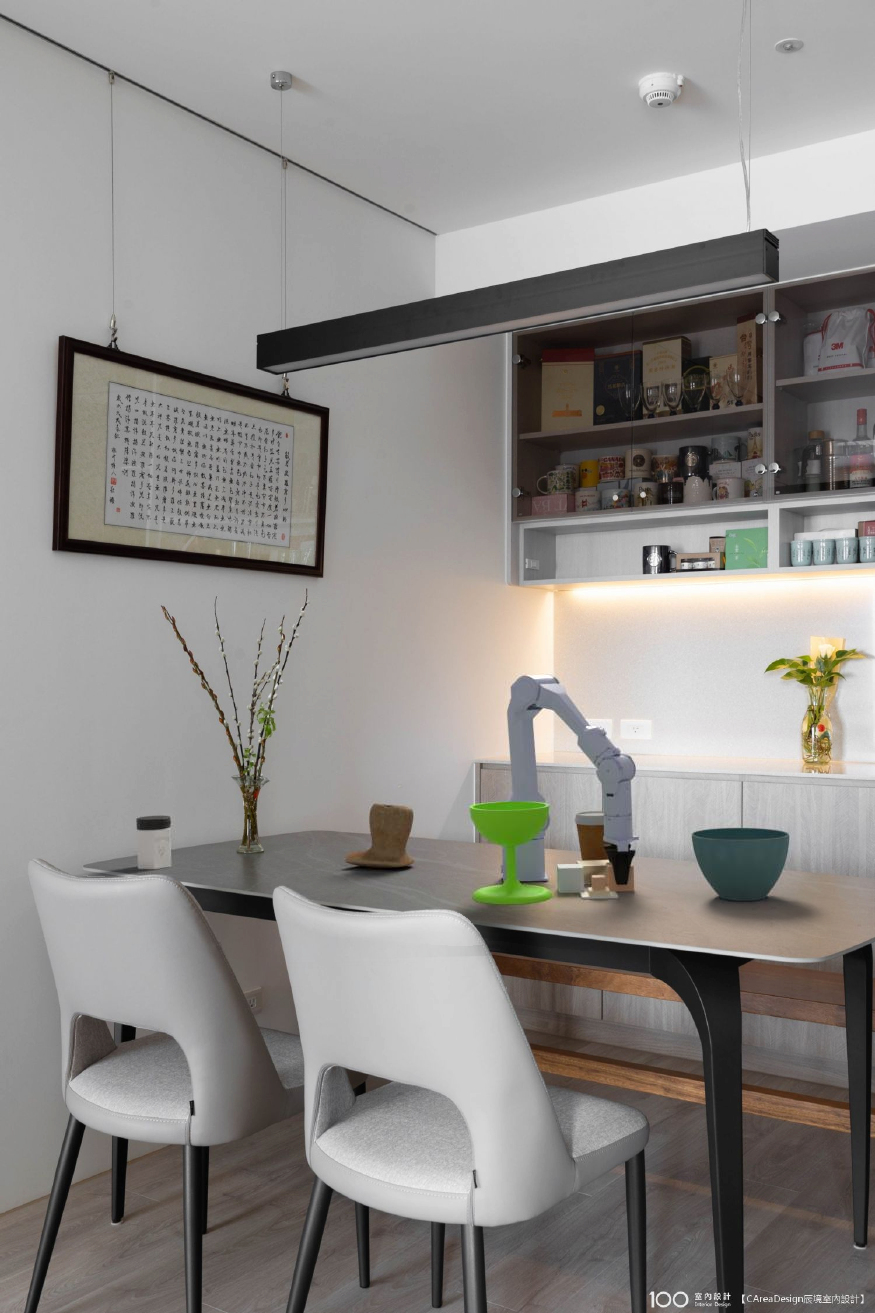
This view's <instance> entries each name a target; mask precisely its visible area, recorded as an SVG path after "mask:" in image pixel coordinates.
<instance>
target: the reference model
mask: <svg viewBox="0 0 875 1313" xmlns="http://www.w3.org/2000/svg"><path fill="white" fill-rule="evenodd" d="M591 879H592V884H591V887H589V886H588V887H587V891H584V892H580V893H579V894H580V897H581V899H582V900H595V899H596V900H599V899H606V900H607V899H619V895H618V894H617V893H618V892H617V891H616V892H615V891H610V890H609V888H608V887H607V884H606V880H605V876H604V875H591Z"/></svg>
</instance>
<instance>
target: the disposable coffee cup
mask: <svg viewBox="0 0 875 1313" xmlns="http://www.w3.org/2000/svg"><path fill="white" fill-rule="evenodd" d="M573 819H574V824H576V832H577V837H578V843H579V851H580V855H581V856H580V857H581V861H590V860H609V859H608V856H607V853H606V851H605V849H604V847H603V845H610V844H611V843H609V842H605V841H604V840H603V837H604V810H600V811H599V810H597V811H596V810H592V811H591V810H590V811H579V812H576V813H575V818H573Z"/></svg>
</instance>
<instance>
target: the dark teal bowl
mask: <svg viewBox="0 0 875 1313" xmlns="http://www.w3.org/2000/svg"><path fill="white" fill-rule="evenodd" d="M691 843H692V847H693V852H694V856H695V858H696V861H697V864H698V867H699V869H700V870H701V872H702V875H703V877H704V878H705V880H706V881H707V883H708V884H709V885H710V887H711V888H712V890H714V892H715V893H716V895H718V897H719V898H720V899H722V900H723V899H724V900H728V901H737V902H750V901H751V902H752V901H759V900H763V899H765V898H766V897H767V896H768V894H769V893H770V892H771V891H772V890H773V889H774V886H775V885H776V884H777V882H778V881H779V879H780V877H781V875H782V873H783V870H784V867H785V865H786V862H787V857H788V853H789V847H790V846H789V845H790V833H789V832H787V831H783V830H779V829H770V828H759V827H758V828H756V827H720V828H719V827H718V828H708V829H701V830H696V831H693V832H692V833H691Z"/></svg>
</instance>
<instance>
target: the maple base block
mask: <svg viewBox="0 0 875 1313" xmlns="http://www.w3.org/2000/svg"><path fill="white" fill-rule="evenodd" d="M575 862H576V863H575V864H582V866H583V870H584V885H592V879H591V875H604V876H605V880H606V863H609V860H590V861H582V860H576V861H575ZM606 885H607V882H606Z"/></svg>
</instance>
